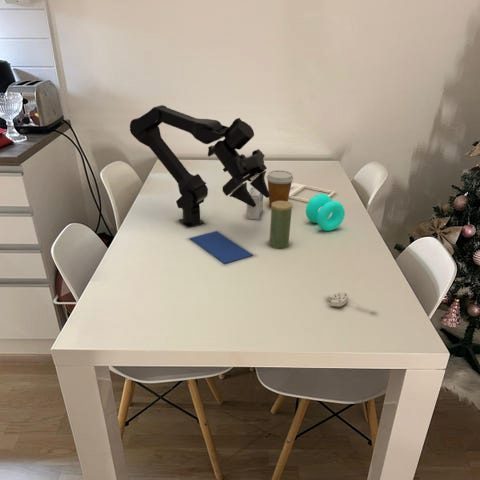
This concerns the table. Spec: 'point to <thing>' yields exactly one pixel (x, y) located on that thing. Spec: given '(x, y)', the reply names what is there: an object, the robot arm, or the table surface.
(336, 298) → the game controller
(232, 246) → the blue mat
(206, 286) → the table surface
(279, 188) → the disposable coffee cup
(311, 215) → the donuts
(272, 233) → the tea tin
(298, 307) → the table surface
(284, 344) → the table surface
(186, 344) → the table surface
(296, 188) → the photo frame
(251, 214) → the medicine box
